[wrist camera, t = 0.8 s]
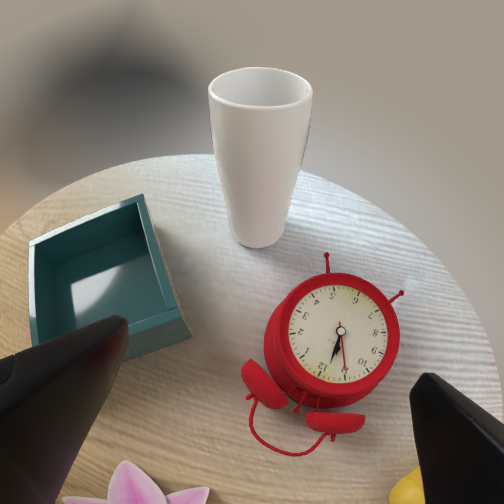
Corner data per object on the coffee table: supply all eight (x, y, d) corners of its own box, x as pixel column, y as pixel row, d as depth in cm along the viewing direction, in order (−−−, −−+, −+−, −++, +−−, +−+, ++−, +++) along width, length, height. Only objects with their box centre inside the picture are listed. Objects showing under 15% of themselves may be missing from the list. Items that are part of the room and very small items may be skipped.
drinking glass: (212, 249, 28) (189, 103, 15) (233, 197, 31) (226, 63, 19) (284, 265, 27) (309, 117, 14) (296, 209, 31) (318, 73, 18)
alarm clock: (422, 291, 21) (373, 473, 12) (389, 330, 26) (332, 479, 16) (312, 236, 24) (204, 392, 14) (295, 284, 29) (206, 417, 19)
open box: (193, 337, 23) (181, 316, 19) (65, 380, 20) (34, 367, 17) (154, 224, 30) (142, 193, 26) (51, 266, 27) (29, 241, 23)
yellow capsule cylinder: (474, 450, 16) (502, 448, 13) (390, 521, 14) (412, 532, 11) (460, 420, 18) (488, 414, 15) (373, 489, 16) (394, 498, 13)
